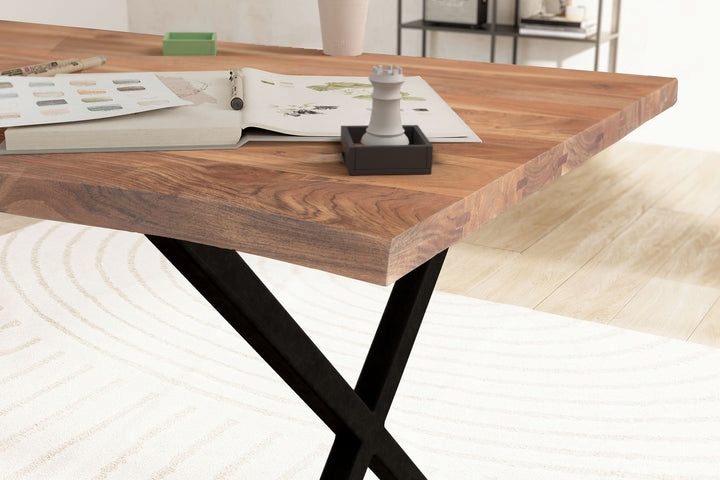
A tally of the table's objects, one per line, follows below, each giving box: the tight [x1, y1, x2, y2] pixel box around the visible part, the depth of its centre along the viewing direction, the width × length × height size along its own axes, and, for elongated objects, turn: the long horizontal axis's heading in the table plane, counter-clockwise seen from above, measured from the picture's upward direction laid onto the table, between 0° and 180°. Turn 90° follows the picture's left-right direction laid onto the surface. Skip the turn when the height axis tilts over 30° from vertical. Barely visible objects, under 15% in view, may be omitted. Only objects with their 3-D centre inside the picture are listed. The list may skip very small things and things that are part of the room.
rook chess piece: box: [360, 64, 410, 146], centre depth 78 cm, size 4×4×8 cm
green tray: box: [161, 31, 218, 57], centre depth 127 cm, size 7×7×2 cm
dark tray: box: [340, 124, 434, 176], centre depth 79 cm, size 7×7×2 cm
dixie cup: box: [317, 0, 370, 57], centre depth 128 cm, size 8×8×10 cm
